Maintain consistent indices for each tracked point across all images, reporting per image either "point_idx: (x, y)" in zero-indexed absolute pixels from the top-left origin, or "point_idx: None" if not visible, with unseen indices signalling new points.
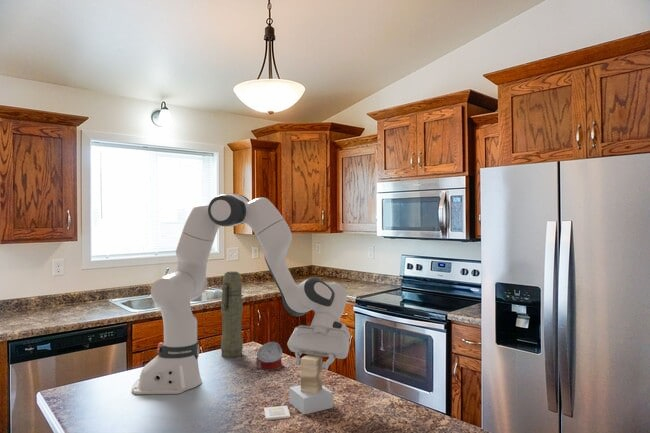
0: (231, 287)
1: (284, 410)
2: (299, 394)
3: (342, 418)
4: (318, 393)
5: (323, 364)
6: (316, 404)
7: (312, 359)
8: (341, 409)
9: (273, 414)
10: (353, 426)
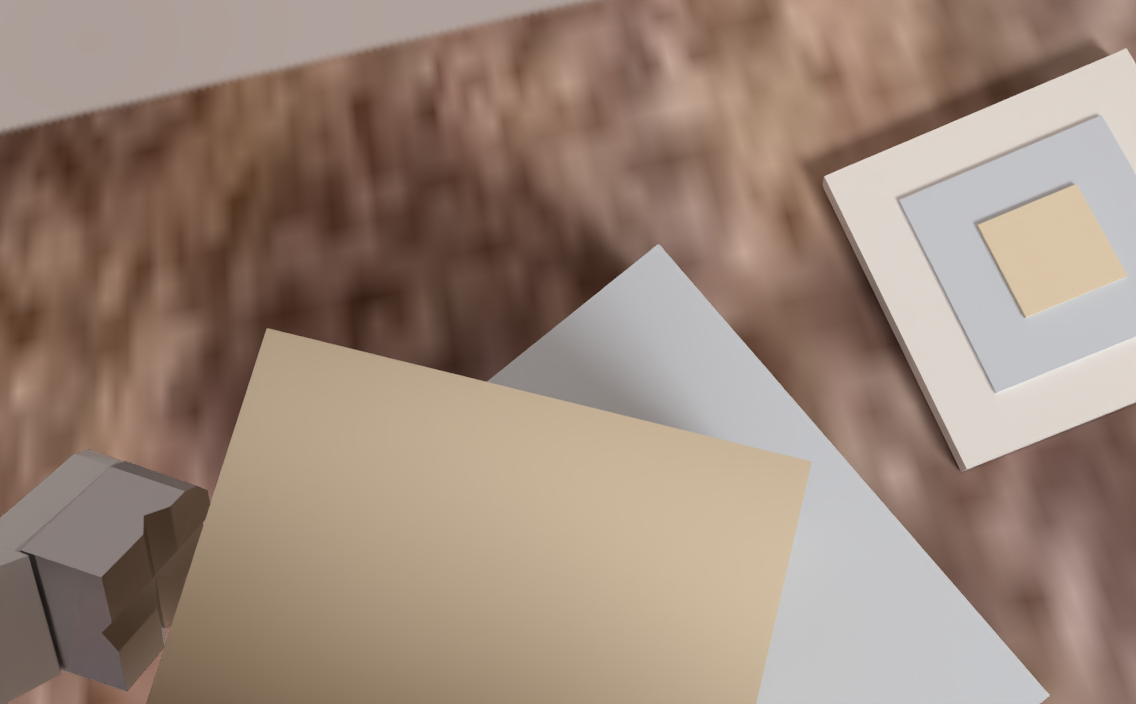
0: None
1: (949, 296)
2: (765, 388)
3: (203, 292)
4: None
5: (123, 501)
6: None
7: (378, 426)
8: None
9: (1061, 151)
10: (88, 132)
